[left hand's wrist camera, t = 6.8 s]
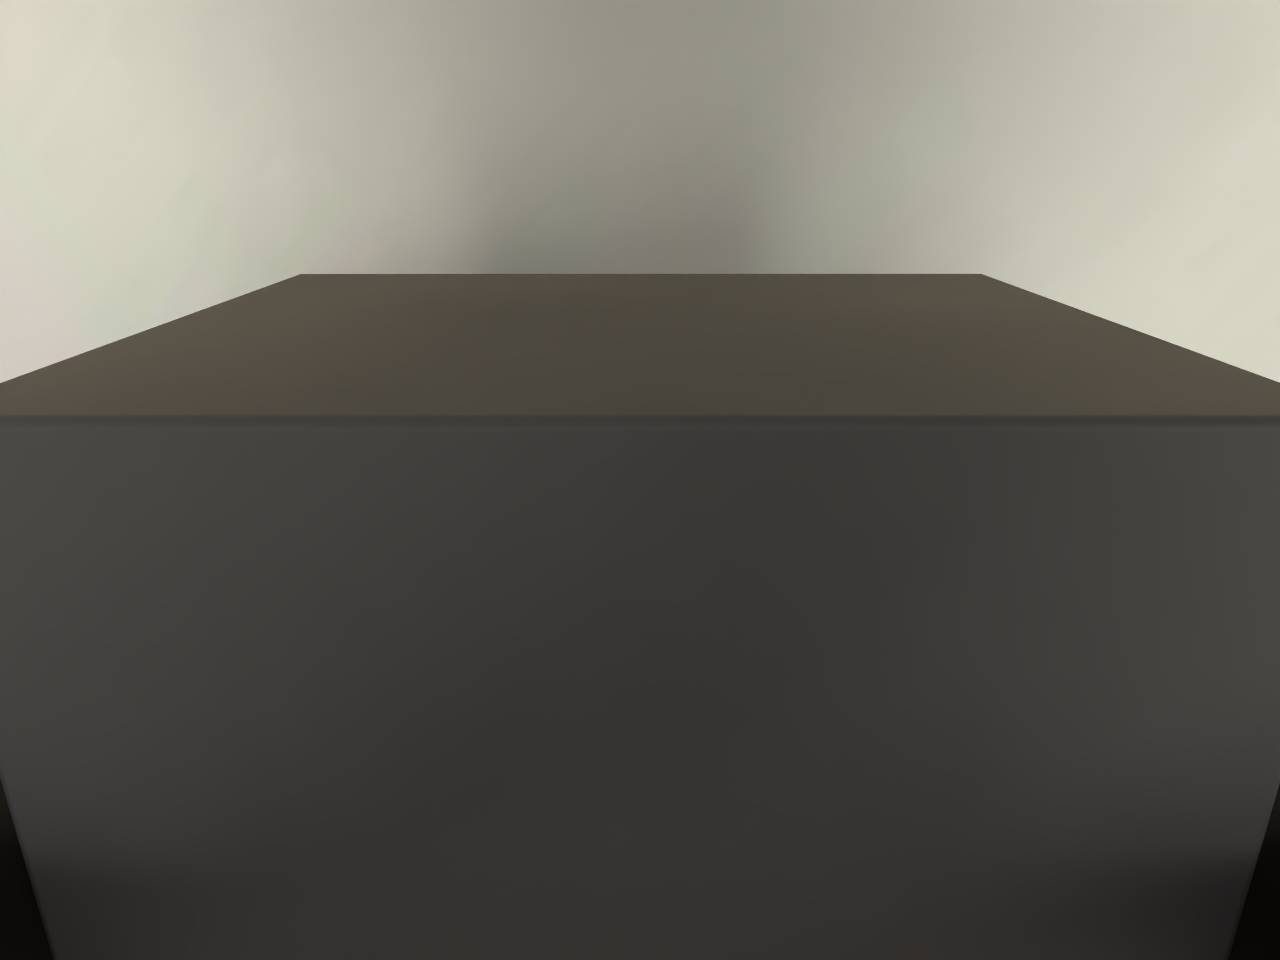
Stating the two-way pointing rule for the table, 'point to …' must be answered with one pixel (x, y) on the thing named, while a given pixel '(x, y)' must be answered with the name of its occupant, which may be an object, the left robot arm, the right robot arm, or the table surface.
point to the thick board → (640, 625)
